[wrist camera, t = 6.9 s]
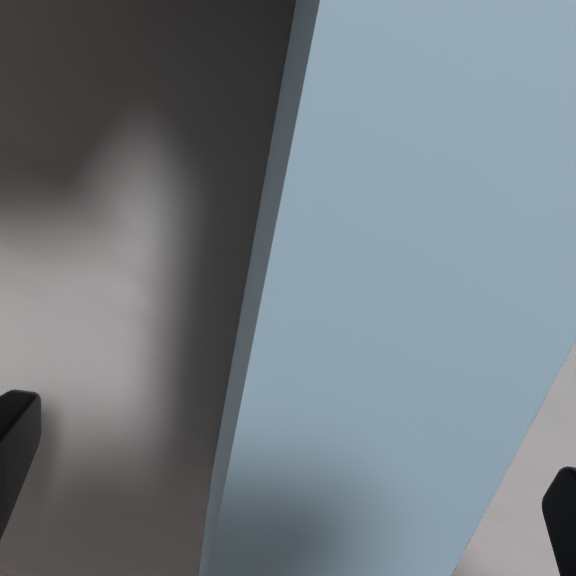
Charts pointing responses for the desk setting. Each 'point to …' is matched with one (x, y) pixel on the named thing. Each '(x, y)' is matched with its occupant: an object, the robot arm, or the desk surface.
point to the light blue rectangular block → (398, 286)
